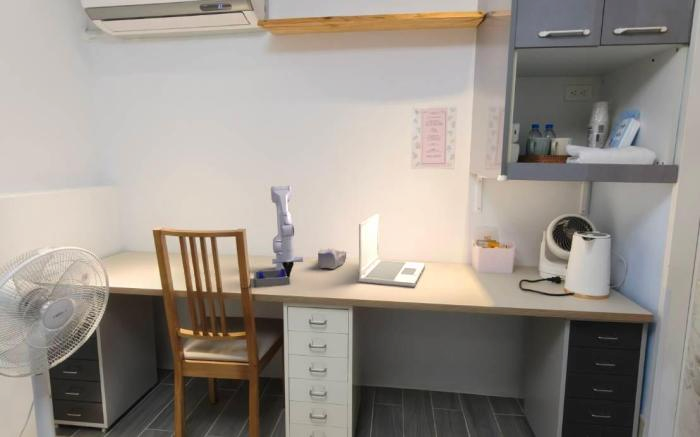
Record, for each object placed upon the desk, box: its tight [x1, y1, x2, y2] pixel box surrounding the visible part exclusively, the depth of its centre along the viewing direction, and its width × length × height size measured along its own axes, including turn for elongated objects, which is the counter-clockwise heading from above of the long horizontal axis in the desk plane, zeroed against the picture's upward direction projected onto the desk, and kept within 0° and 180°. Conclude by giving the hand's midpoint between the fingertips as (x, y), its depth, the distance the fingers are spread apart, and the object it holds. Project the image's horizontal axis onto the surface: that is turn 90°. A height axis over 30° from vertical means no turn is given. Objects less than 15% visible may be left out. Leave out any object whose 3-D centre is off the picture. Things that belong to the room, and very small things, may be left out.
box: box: [253, 269, 291, 288], centre depth 190 cm, size 14×16×4 cm
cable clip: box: [258, 269, 285, 279], centre depth 188 cm, size 12×4×6 cm, turn 110°
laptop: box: [358, 213, 426, 288], centre depth 198 cm, size 35×26×28 cm
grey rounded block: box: [317, 248, 348, 270], centre depth 217 cm, size 13×11×20 cm
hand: (288, 277), depth 192 cm, fingers closed
